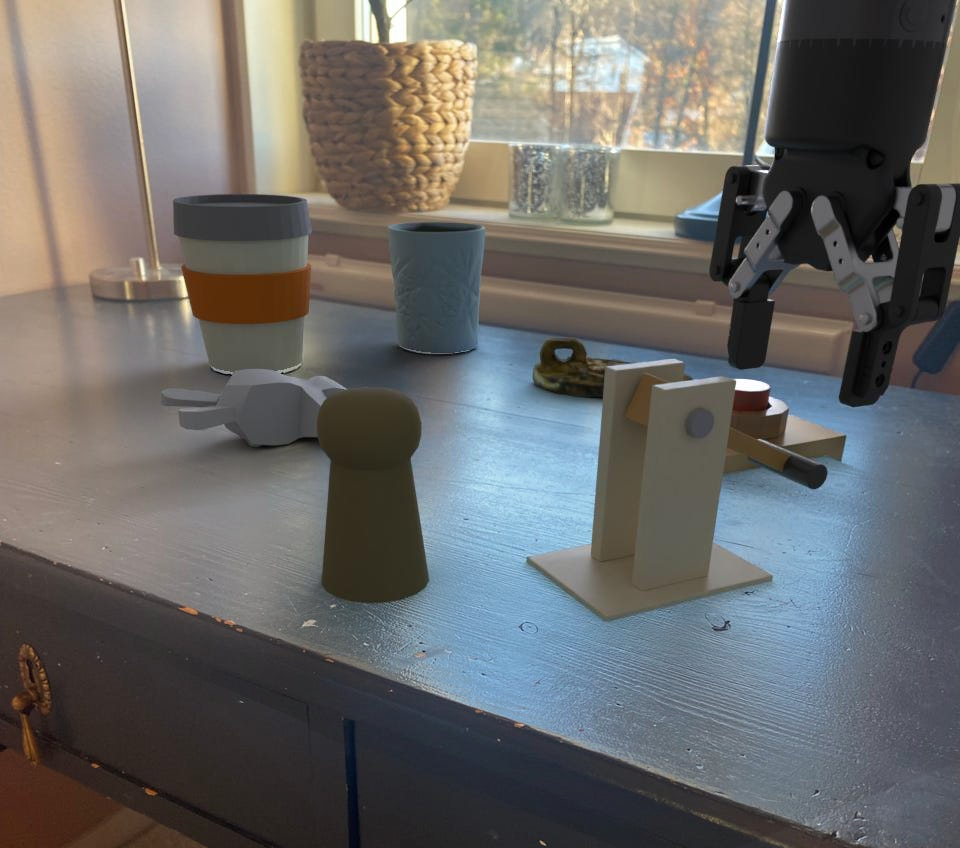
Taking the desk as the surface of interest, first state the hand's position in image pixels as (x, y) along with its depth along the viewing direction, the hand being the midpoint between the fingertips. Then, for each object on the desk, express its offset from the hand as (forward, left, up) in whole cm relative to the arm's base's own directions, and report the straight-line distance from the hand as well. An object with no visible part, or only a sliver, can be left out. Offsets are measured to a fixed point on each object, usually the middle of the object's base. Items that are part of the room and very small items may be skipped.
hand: (797, 384), depth 53 cm
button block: (-6, -18, -10) cm, 22 cm away
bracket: (+8, +3, -10) cm, 14 cm away
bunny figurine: (+29, -26, -11) cm, 41 cm away
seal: (-2, -38, -11) cm, 40 cm away
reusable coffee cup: (+31, -50, -11) cm, 60 cm away
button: (-6, -18, -7) cm, 20 cm away
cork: (+23, +2, -11) cm, 26 cm away
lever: (+5, +2, -3) cm, 6 cm away
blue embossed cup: (+12, -57, -11) cm, 60 cm away
